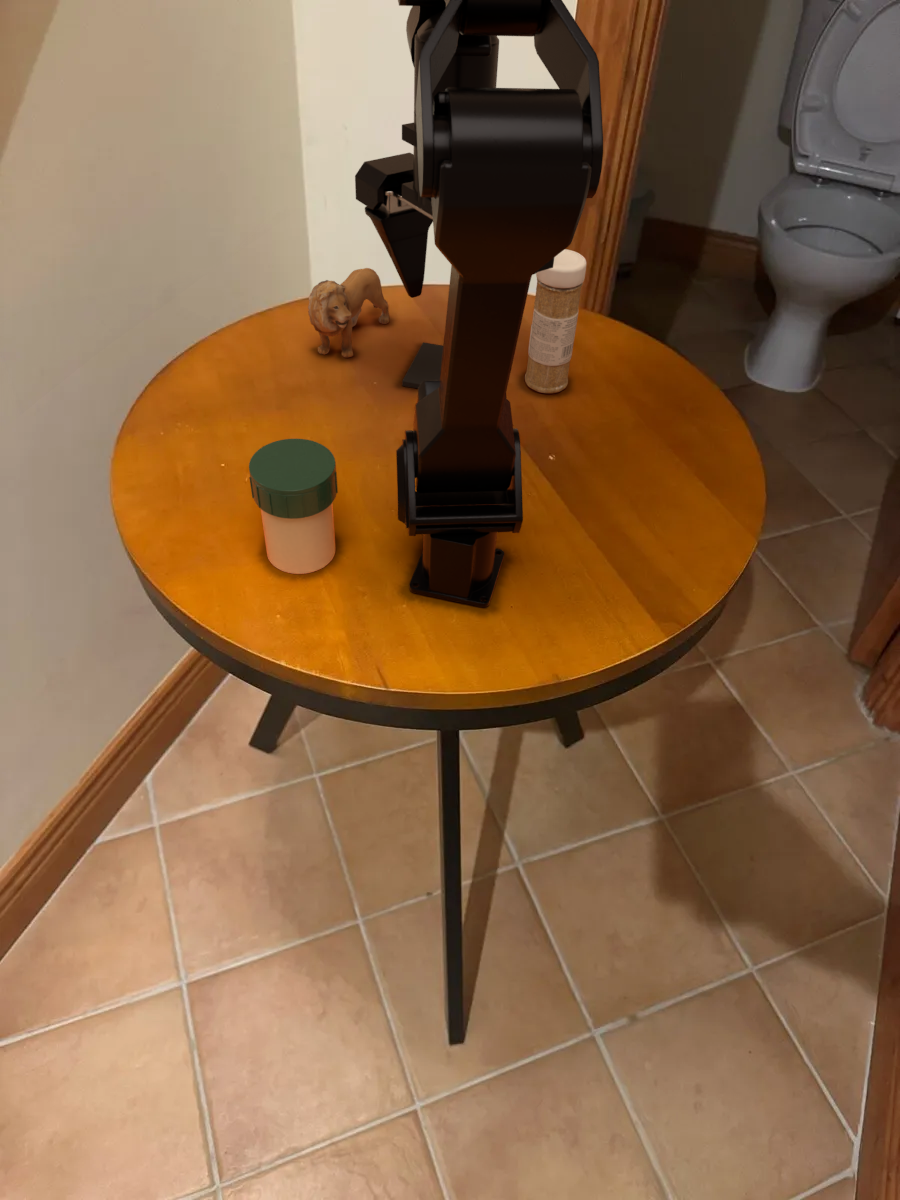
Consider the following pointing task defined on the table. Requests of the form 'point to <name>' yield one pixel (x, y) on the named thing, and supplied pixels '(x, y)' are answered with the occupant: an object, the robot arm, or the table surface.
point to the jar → (300, 541)
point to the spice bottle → (555, 322)
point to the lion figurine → (344, 306)
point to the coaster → (424, 365)
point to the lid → (293, 478)
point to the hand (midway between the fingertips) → (446, 318)
